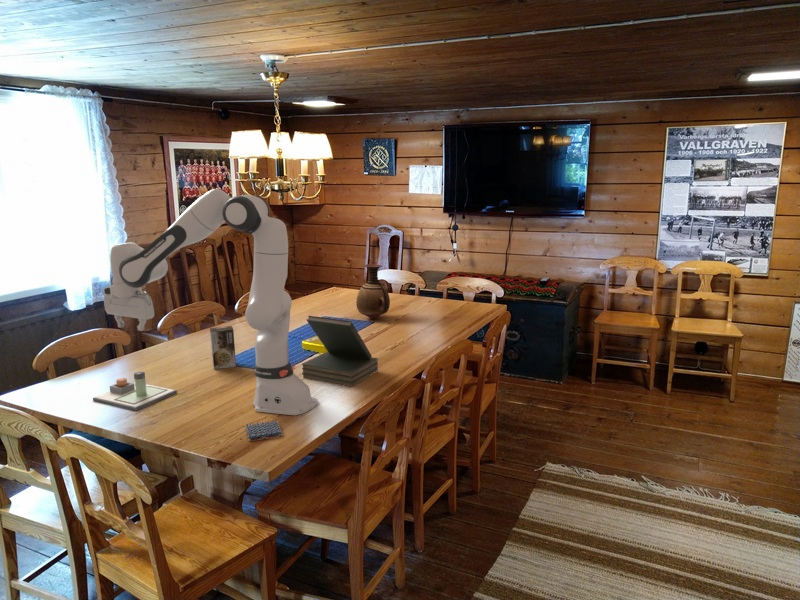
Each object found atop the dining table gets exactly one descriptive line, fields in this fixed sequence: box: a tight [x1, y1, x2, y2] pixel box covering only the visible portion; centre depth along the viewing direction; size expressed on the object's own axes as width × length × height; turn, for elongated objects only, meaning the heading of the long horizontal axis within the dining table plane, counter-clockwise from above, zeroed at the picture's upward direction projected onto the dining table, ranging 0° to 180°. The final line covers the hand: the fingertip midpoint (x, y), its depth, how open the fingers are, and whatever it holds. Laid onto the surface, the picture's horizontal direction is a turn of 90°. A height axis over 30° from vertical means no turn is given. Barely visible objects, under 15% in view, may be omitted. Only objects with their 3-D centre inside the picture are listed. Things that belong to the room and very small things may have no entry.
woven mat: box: [244, 419, 284, 442], centre depth 177 cm, size 10×11×2 cm
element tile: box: [301, 335, 328, 354], centre depth 263 cm, size 15×15×5 cm
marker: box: [133, 371, 147, 397], centre depth 203 cm, size 4×4×8 cm
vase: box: [356, 263, 391, 319], centre depth 313 cm, size 21×18×30 cm
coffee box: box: [209, 325, 237, 370], centre depth 237 cm, size 9×6×16 cm
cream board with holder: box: [92, 381, 178, 412], centre depth 205 cm, size 21×18×4 cm
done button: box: [115, 377, 128, 387], centre depth 207 cm, size 3×3×2 cm
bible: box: [301, 315, 379, 388], centre depth 225 cm, size 23×20×25 cm
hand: (131, 328), depth 199 cm, fingers open, 8 cm apart
